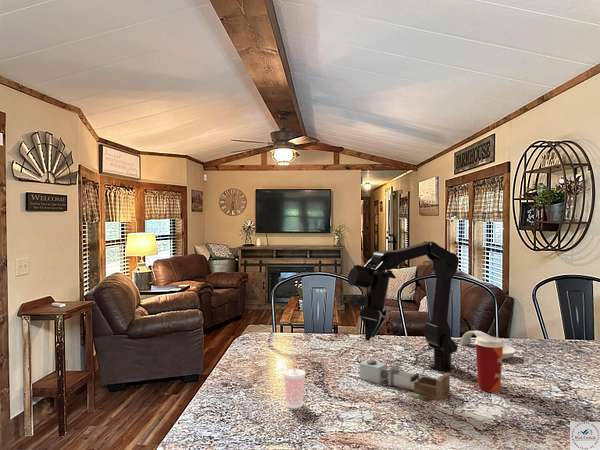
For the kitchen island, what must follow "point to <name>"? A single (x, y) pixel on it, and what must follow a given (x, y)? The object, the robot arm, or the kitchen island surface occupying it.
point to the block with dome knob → (373, 371)
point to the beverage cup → (294, 386)
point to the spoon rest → (466, 338)
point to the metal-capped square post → (403, 378)
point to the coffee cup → (489, 362)
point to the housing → (432, 388)
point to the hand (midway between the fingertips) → (369, 338)
